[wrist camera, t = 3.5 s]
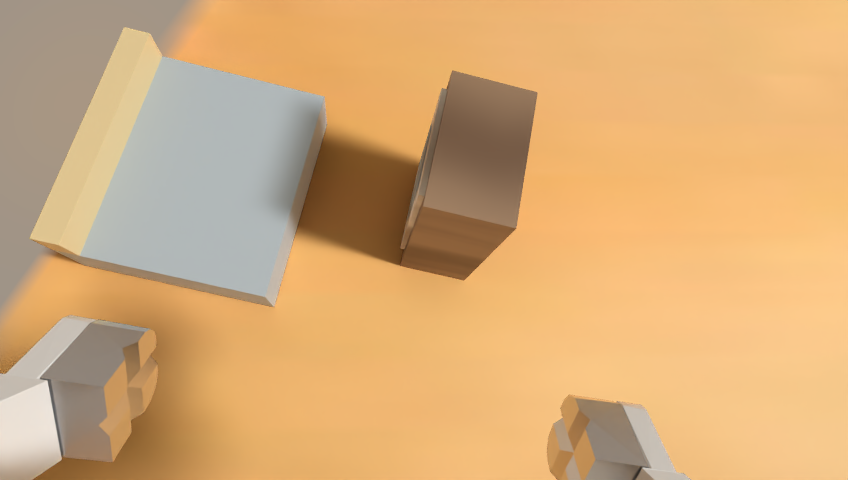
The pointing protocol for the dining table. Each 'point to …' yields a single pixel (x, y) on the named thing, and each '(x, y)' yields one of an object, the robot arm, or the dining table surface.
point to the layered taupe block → (468, 176)
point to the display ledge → (185, 175)
